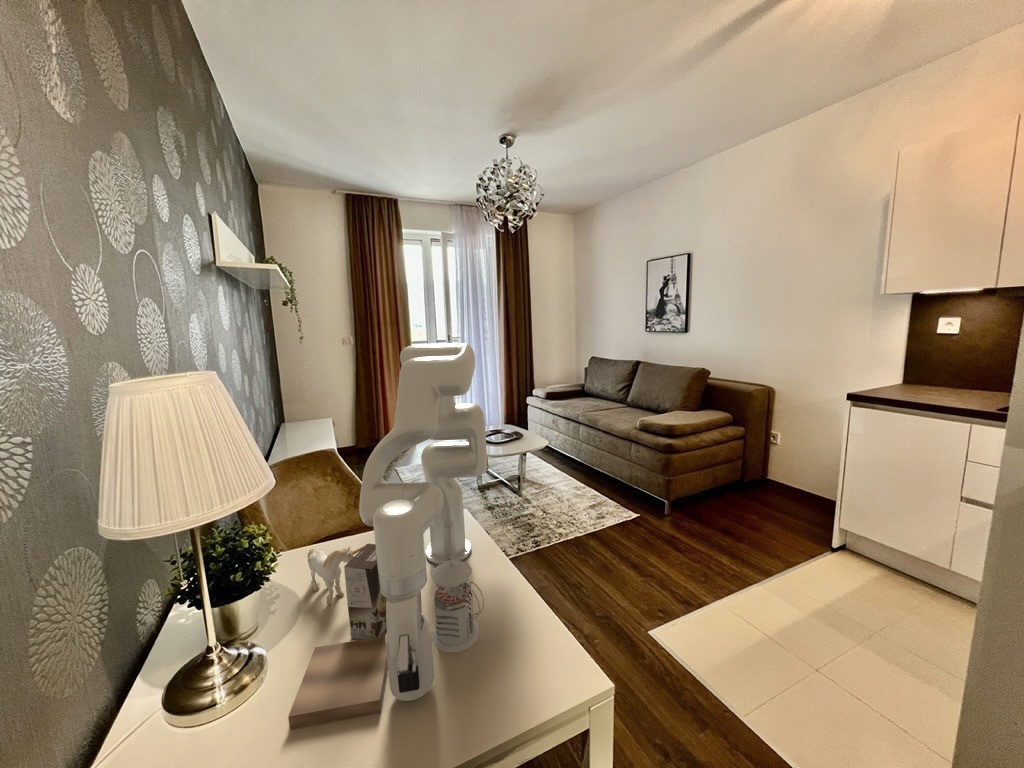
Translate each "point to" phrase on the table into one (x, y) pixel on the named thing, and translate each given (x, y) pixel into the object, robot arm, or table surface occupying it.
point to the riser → (341, 683)
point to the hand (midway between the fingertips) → (411, 667)
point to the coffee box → (365, 595)
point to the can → (422, 661)
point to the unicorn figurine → (329, 568)
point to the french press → (456, 623)
